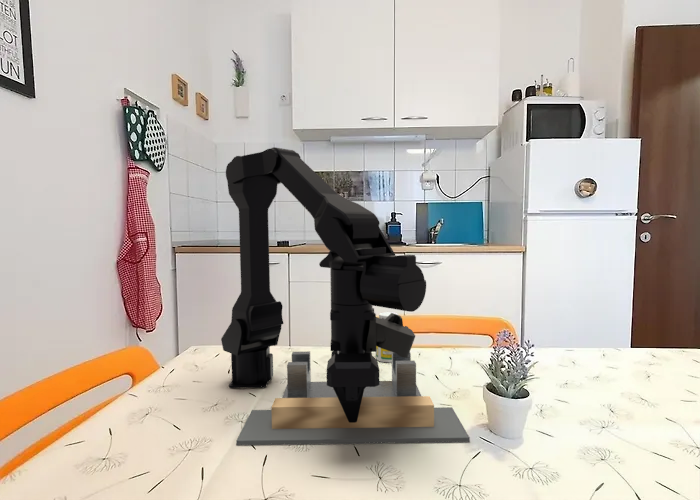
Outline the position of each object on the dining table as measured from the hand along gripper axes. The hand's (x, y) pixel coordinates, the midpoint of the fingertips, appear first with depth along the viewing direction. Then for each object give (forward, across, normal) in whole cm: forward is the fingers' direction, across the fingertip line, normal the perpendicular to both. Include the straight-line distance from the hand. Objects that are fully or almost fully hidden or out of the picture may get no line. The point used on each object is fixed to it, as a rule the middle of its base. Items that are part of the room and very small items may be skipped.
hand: (352, 412), depth 58 cm
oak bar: (+1, 0, 0) cm, 1 cm away
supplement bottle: (+2, +30, -8) cm, 31 cm away
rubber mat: (+2, 0, 0) cm, 2 cm away
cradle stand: (+2, +10, 0) cm, 11 cm away
